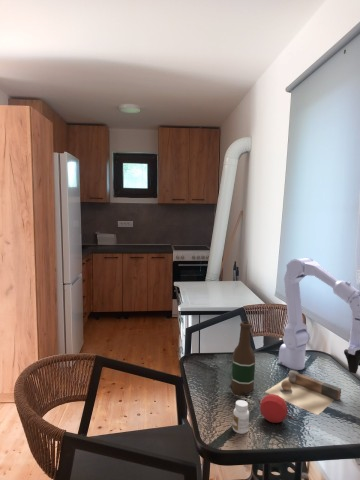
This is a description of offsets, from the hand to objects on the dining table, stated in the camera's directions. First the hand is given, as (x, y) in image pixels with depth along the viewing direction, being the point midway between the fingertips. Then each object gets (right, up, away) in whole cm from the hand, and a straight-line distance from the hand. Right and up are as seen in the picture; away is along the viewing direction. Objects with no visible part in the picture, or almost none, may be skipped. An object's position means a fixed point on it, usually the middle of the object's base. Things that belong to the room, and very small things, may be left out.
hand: (356, 368), depth 121 cm
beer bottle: (-39, -8, 0) cm, 40 cm away
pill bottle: (-43, -10, -21) cm, 49 cm away
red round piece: (-33, -10, -16) cm, 37 cm away
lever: (-15, -7, 0) cm, 16 cm away
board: (-20, -9, -3) cm, 22 cm away
